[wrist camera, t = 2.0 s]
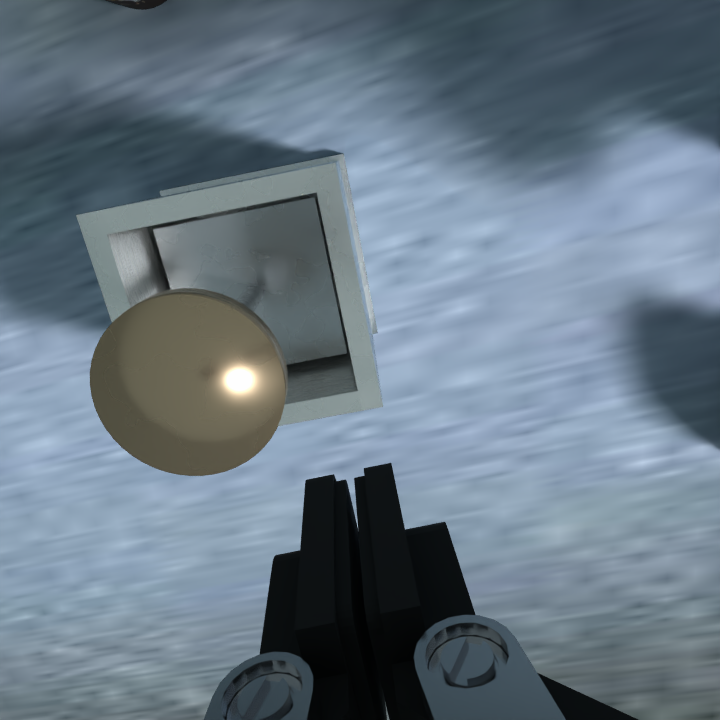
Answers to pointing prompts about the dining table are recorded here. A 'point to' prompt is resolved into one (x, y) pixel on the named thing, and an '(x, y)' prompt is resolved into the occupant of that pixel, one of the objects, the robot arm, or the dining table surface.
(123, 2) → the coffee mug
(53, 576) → the dining table surface
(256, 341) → the plunger
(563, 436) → the dining table surface
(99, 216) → the white open square box
